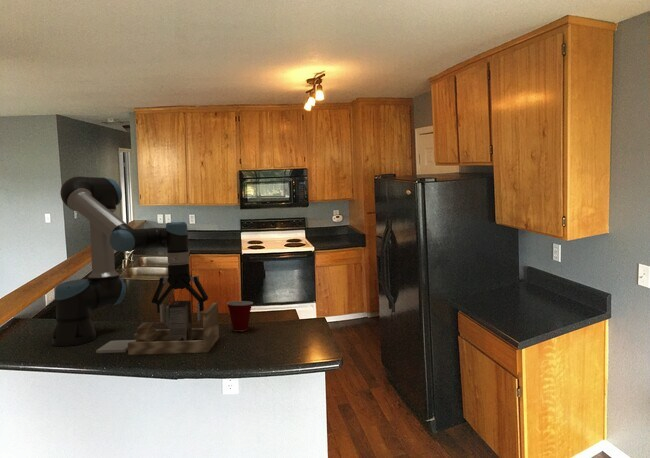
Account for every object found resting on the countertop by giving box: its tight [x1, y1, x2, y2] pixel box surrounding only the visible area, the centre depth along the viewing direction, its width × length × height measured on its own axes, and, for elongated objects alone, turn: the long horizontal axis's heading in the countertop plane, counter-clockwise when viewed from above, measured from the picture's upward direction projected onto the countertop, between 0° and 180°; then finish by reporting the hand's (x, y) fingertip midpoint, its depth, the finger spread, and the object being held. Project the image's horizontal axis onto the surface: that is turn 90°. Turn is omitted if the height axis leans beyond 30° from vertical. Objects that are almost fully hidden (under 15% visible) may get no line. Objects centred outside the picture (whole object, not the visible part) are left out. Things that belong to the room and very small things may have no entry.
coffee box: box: [168, 300, 193, 341], centre depth 167 cm, size 9×6×16 cm
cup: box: [165, 305, 170, 329], centre depth 190 cm, size 8×8×10 cm
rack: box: [127, 302, 220, 356], centre depth 167 cm, size 28×18×14 cm, turn 92°
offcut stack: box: [133, 321, 158, 342], centre depth 166 cm, size 5×10×8 cm, turn 2°
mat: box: [95, 339, 136, 354], centre depth 166 cm, size 10×12×1 cm
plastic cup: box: [226, 300, 254, 331], centre depth 186 cm, size 11×11×12 cm
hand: (181, 320), depth 166 cm, fingers open, 13 cm apart
